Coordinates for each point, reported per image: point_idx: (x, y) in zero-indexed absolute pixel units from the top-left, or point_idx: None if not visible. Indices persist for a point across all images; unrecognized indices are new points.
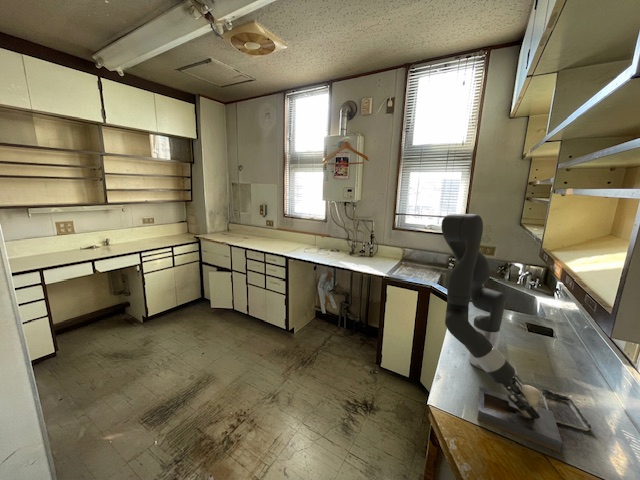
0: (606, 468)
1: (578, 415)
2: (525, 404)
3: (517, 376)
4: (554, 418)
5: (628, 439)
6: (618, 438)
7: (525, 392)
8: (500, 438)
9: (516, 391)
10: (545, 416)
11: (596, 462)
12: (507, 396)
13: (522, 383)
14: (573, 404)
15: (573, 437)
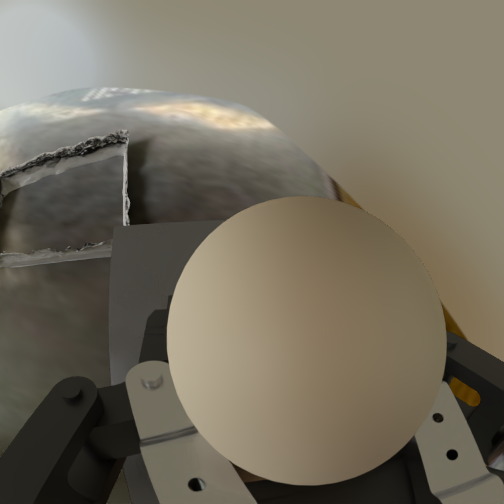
0: (275, 143)
1: (61, 164)
2: (495, 358)
3: (2, 490)
4: (173, 223)
5: (114, 93)
6: (120, 105)
7: (424, 397)
8: None
9: (497, 469)
10: (183, 264)
11: (270, 157)
12: (128, 468)
13: (59, 423)
14: (21, 168)
15: (186, 192)
